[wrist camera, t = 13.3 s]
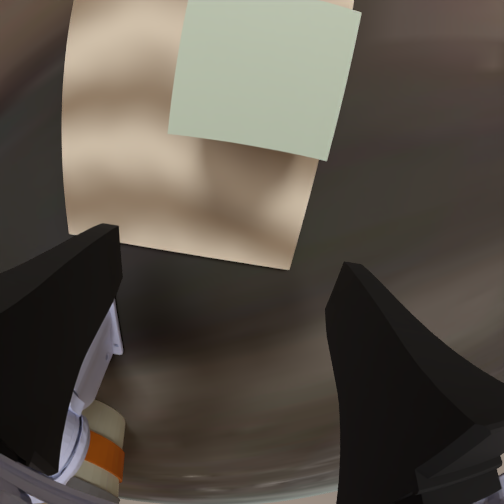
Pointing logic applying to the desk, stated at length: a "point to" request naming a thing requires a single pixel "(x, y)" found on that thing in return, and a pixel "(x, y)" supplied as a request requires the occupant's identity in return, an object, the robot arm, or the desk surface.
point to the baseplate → (165, 148)
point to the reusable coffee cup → (102, 454)
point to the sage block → (263, 73)
